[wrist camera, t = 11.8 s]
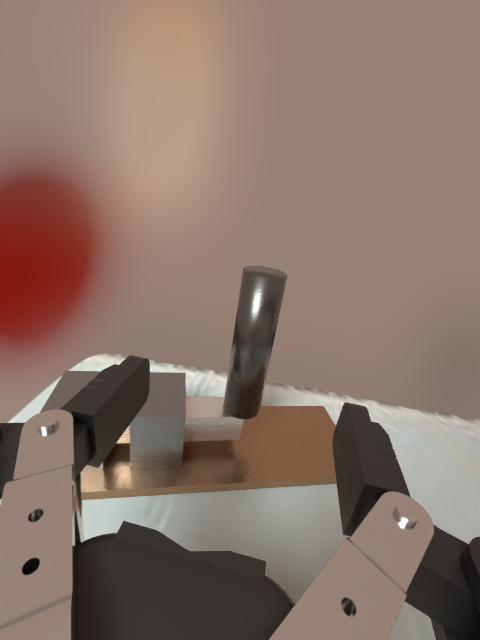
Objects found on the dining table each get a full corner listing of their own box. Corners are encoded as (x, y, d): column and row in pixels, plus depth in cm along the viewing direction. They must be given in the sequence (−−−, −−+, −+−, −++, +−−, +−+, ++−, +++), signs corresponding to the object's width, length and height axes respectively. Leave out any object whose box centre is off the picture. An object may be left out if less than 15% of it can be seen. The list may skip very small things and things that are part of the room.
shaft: (250, 416, 30) (279, 268, 23) (258, 441, 27) (293, 280, 21) (58, 418, 26) (34, 244, 20) (42, 448, 23) (9, 255, 17)
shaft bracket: (321, 411, 35) (336, 366, 32) (363, 481, 27) (386, 429, 24) (60, 414, 29) (53, 359, 27) (14, 503, 21) (-3, 438, 19)
